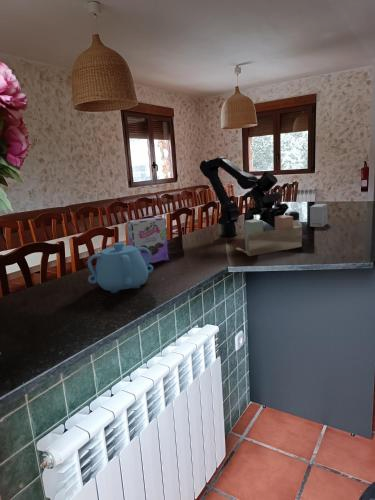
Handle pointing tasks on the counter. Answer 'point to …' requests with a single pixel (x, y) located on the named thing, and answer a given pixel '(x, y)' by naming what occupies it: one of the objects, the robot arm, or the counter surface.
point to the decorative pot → (120, 267)
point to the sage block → (252, 228)
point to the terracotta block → (283, 222)
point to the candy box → (149, 237)
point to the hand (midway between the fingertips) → (275, 227)
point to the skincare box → (318, 215)
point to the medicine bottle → (294, 218)
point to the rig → (273, 241)
